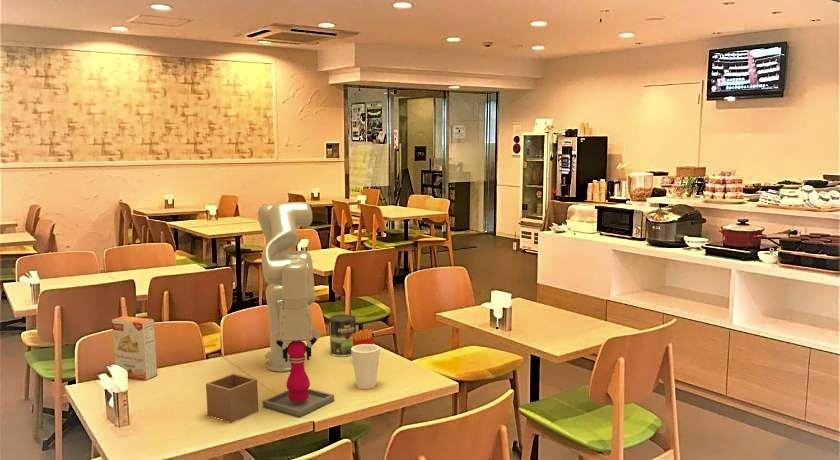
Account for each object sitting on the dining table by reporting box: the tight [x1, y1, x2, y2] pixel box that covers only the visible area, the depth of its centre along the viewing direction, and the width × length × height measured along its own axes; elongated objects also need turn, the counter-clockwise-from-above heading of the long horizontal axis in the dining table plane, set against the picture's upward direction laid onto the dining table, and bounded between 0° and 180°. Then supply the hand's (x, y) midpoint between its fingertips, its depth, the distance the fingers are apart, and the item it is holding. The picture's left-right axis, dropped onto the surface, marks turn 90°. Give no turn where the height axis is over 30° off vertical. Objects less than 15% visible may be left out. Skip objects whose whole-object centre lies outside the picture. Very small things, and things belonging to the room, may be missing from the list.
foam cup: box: [350, 344, 381, 390], centre depth 228 cm, size 10×9×13 cm
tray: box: [262, 387, 335, 418], centre depth 214 cm, size 16×16×2 cm
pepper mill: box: [286, 340, 311, 402], centre depth 212 cm, size 7×7×20 cm
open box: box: [205, 373, 259, 424], centre depth 206 cm, size 11×11×10 cm
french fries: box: [352, 328, 374, 346], centre depth 254 cm, size 8×4×12 cm, turn 128°
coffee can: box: [328, 314, 357, 358], centre depth 265 cm, size 10×10×14 cm
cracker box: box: [111, 315, 158, 381], centre depth 240 cm, size 14×6×21 cm, turn 68°
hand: (297, 359), depth 212 cm, fingers closed on pepper mill, 6 cm apart
